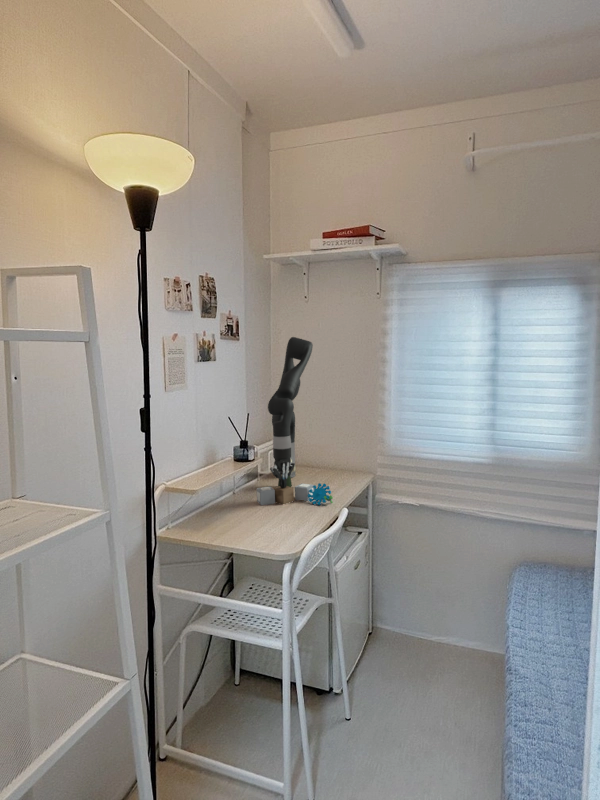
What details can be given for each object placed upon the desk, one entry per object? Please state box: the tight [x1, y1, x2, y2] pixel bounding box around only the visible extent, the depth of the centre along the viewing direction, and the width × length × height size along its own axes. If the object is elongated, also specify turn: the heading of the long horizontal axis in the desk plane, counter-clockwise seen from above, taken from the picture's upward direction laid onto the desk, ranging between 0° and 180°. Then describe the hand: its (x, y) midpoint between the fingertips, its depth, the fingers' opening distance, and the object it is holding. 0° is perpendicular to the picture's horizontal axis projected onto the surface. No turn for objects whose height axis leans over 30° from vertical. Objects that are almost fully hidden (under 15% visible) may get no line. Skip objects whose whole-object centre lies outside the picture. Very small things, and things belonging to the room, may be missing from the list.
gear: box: [308, 482, 334, 506], centre depth 220 cm, size 11×6×10 cm
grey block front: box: [256, 486, 276, 506], centre depth 222 cm, size 6×6×6 cm
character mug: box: [277, 459, 296, 487], centre depth 243 cm, size 11×7×13 cm, turn 63°
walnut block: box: [272, 486, 295, 505], centre depth 222 cm, size 6×6×6 cm
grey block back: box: [294, 483, 315, 502], centre depth 225 cm, size 6×6×6 cm
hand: (283, 487), depth 222 cm, fingers closed
